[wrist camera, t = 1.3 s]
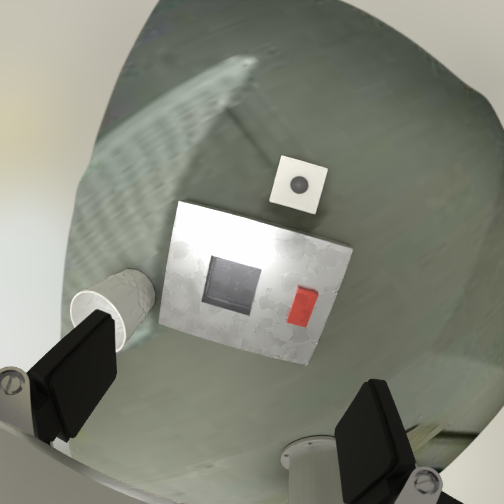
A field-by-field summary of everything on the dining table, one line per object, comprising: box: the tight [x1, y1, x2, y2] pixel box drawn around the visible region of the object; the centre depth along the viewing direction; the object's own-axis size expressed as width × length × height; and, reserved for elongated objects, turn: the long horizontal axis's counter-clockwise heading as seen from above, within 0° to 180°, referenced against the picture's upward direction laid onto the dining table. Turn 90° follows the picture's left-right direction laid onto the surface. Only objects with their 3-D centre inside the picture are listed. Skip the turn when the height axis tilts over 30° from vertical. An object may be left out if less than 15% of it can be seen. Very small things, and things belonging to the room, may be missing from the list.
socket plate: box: [159, 200, 353, 366], centre depth 34 cm, size 20×16×3 cm
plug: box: [269, 155, 328, 214], centre depth 29 cm, size 4×4×7 cm
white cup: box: [70, 269, 156, 352], centre depth 33 cm, size 8×8×10 cm
